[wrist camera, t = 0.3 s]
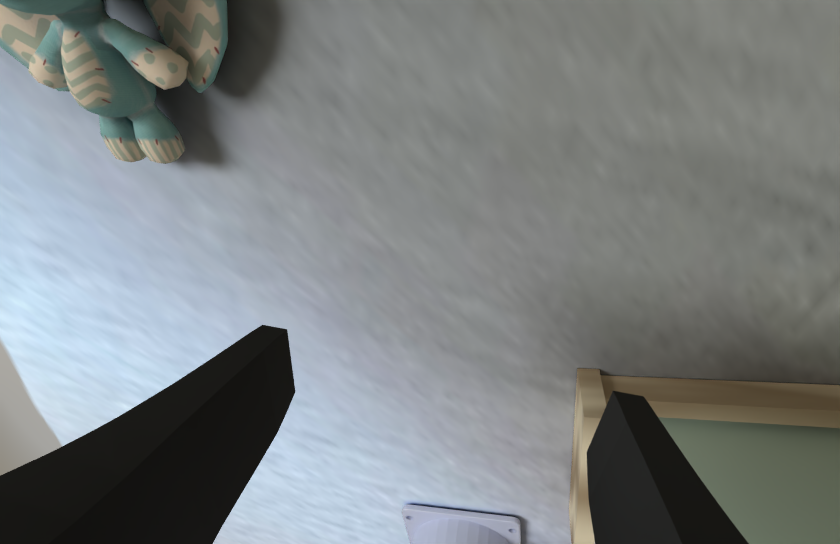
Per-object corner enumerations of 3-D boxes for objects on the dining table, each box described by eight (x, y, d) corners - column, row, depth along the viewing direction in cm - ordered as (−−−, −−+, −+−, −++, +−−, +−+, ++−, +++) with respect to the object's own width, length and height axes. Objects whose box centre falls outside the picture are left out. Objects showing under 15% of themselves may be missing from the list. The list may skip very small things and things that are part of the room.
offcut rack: (975, 556, 23) (1030, 625, 20) (568, 510, 28) (573, 561, 25) (1133, 389, 17) (1239, 458, 14) (577, 368, 22) (584, 417, 19)
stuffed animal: (-38, 208, 17) (-503, -299, 9) (97, 126, 22) (-117, -242, 14) (216, 227, 15) (-79, -406, 7) (298, 132, 20) (187, -293, 12)
